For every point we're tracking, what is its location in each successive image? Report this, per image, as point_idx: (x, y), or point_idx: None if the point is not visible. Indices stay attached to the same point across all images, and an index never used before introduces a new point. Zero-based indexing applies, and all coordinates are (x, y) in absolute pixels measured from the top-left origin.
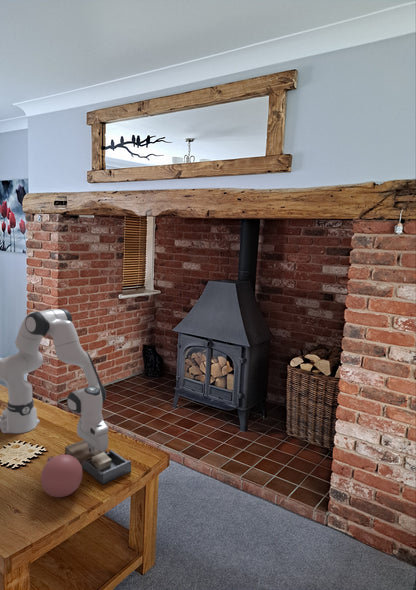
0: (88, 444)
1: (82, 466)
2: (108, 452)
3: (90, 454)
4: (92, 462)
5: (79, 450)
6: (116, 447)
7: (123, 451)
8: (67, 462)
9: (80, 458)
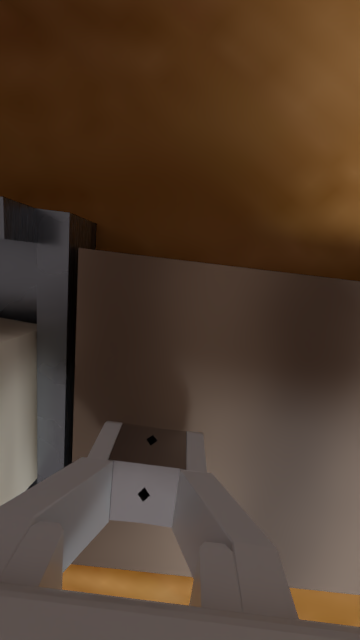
0: (219, 544)
1: (79, 219)
2: None
3: (151, 409)
4: (16, 326)
5: (348, 380)
6: None
7: None
8: None
9: (166, 258)
